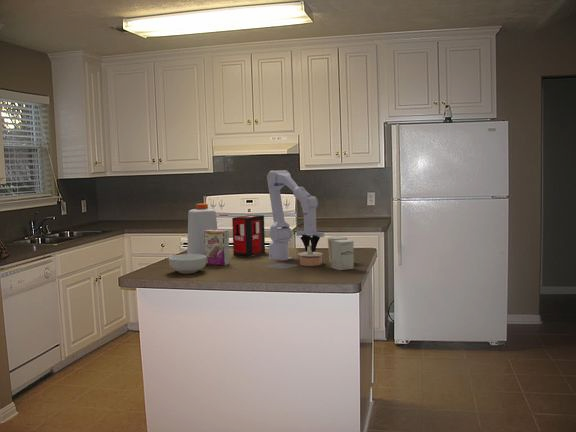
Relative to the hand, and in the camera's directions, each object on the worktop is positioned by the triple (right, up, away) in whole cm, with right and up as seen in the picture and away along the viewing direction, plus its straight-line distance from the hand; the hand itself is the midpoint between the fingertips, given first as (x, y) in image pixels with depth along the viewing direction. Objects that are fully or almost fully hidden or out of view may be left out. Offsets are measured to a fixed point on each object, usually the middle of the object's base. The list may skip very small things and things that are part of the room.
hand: (310, 251), depth 268 cm
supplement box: (+14, -7, -11) cm, 19 cm away
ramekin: (0, -6, +1) cm, 6 cm away
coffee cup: (+13, -6, +5) cm, 15 cm away
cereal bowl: (-55, -9, -10) cm, 57 cm away
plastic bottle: (-54, -5, +25) cm, 60 cm away
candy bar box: (-44, -7, +8) cm, 46 cm away
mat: (-14, -7, -3) cm, 16 cm away
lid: (0, -2, 0) cm, 2 cm away
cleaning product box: (-31, -4, +36) cm, 48 cm away
